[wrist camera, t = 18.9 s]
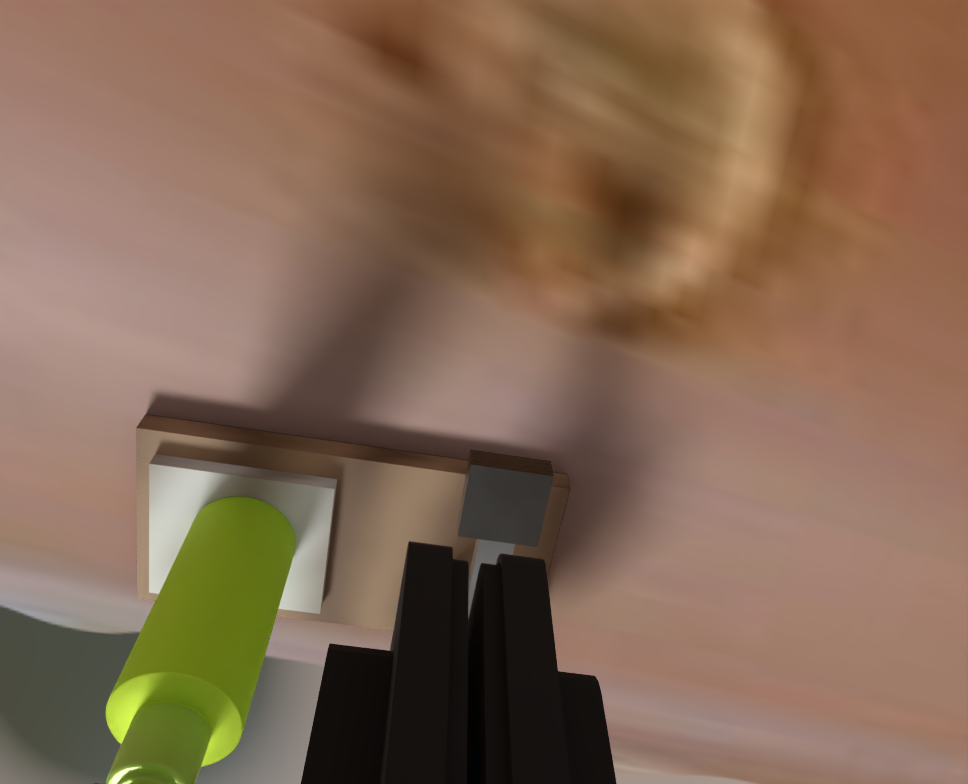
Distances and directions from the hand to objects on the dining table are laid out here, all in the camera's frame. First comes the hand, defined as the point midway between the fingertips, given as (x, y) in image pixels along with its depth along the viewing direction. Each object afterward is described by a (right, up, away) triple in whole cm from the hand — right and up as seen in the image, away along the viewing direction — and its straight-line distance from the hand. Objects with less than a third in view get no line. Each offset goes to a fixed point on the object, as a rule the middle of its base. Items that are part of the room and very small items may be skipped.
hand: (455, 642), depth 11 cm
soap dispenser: (-13, -5, +39) cm, 42 cm away
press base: (-8, -5, +42) cm, 43 cm away
